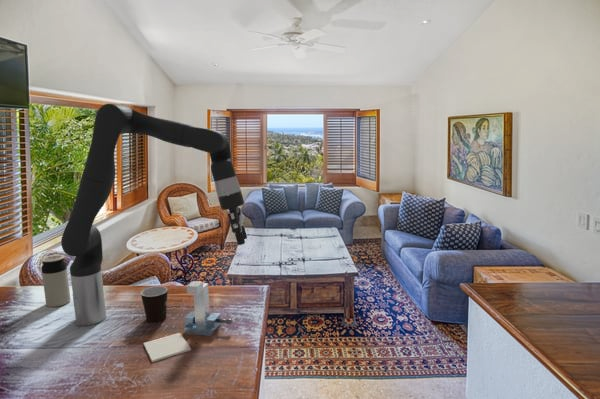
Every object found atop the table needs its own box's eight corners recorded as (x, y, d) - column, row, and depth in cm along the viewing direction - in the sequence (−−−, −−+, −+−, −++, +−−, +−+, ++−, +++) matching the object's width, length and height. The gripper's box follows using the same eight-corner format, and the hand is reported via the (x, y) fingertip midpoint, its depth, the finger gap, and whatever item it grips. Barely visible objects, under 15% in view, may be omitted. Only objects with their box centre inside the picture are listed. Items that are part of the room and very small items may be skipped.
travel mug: (74, 301, 151) (69, 256, 148) (52, 309, 145) (46, 262, 141) (64, 296, 155) (58, 253, 152) (42, 304, 149) (35, 258, 146)
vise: (194, 321, 134) (193, 308, 134) (237, 325, 131) (236, 312, 130) (182, 333, 127) (181, 319, 126) (227, 337, 124) (227, 324, 123)
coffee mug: (161, 325, 132) (158, 297, 130) (138, 323, 133) (135, 295, 132) (178, 310, 143) (176, 283, 141) (156, 308, 145) (154, 282, 143)
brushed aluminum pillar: (200, 319, 131) (197, 276, 129) (210, 320, 130) (207, 277, 128) (189, 330, 124) (186, 285, 121) (199, 332, 123) (197, 286, 121)
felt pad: (152, 362, 111) (151, 360, 111) (143, 344, 120) (143, 343, 120) (190, 350, 117) (190, 348, 117) (179, 334, 126) (179, 332, 126)
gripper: (220, 194, 132) (234, 240, 133) (214, 197, 118) (228, 249, 119) (242, 188, 132) (255, 234, 134) (238, 191, 118) (252, 242, 119)
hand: (242, 241), depth 126 cm, fingers open, 8 cm apart
